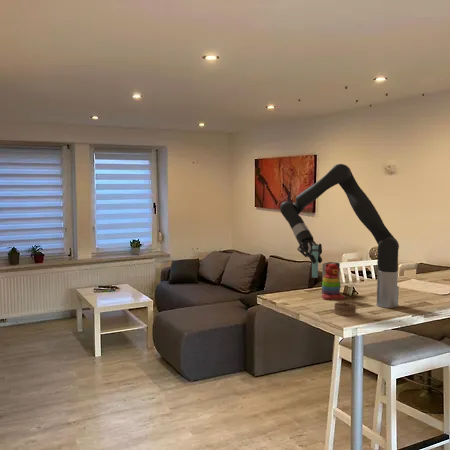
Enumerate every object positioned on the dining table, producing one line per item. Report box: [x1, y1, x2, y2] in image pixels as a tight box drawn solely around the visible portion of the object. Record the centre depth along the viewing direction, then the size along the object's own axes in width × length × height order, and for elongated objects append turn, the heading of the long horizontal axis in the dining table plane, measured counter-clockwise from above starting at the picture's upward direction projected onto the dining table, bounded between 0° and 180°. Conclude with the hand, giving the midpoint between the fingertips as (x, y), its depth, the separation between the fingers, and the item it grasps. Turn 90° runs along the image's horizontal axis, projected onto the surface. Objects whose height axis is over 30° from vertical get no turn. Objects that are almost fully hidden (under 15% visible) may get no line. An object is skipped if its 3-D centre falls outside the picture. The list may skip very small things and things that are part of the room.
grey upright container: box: [321, 261, 341, 294], centre depth 256 cm, size 9×6×16 cm
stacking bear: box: [321, 263, 345, 301], centre depth 245 cm, size 11×10×18 cm
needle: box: [311, 246, 319, 279], centre depth 226 cm, size 3×3×15 cm
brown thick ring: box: [334, 301, 357, 317], centre depth 216 cm, size 9×9×4 cm
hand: (317, 262), depth 224 cm, fingers closed on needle, 2 cm apart
